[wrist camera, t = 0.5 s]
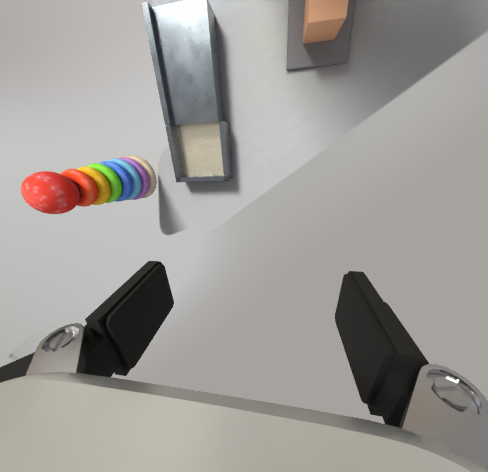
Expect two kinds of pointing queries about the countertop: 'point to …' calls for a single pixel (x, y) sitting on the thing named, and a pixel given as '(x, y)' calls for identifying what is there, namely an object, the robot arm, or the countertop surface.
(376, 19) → the countertop surface
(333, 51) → the mat
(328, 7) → the tan cardboard box
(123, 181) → the stacking toy
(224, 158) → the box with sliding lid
